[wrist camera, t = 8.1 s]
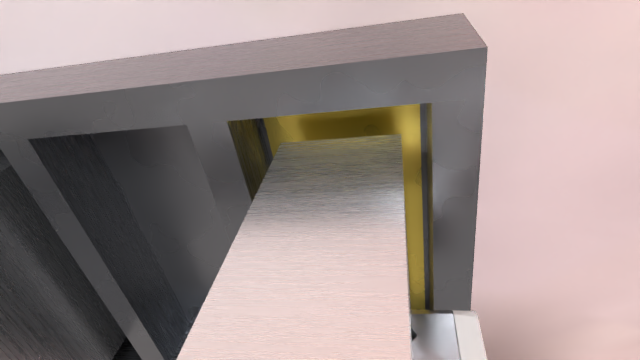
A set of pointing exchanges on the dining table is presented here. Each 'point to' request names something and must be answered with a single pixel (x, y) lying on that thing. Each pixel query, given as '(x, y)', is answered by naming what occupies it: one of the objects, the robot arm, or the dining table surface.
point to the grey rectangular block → (316, 261)
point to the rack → (216, 174)
